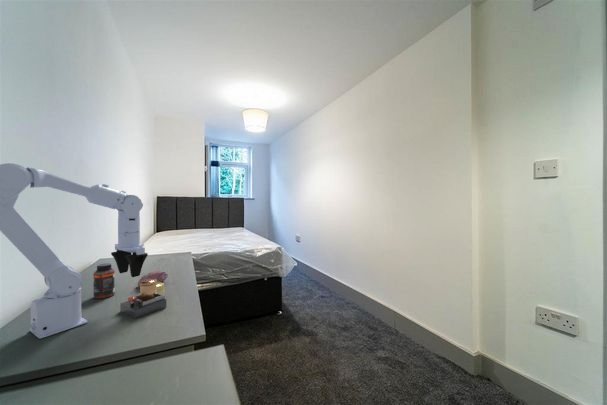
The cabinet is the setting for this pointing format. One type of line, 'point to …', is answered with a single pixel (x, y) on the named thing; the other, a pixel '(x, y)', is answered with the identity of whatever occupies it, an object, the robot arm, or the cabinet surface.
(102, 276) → the supplement bottle
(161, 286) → the gold short rounded piece
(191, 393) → the cabinet surface
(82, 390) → the cabinet surface
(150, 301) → the gray square open box
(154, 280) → the copper flared cylinder
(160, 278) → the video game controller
